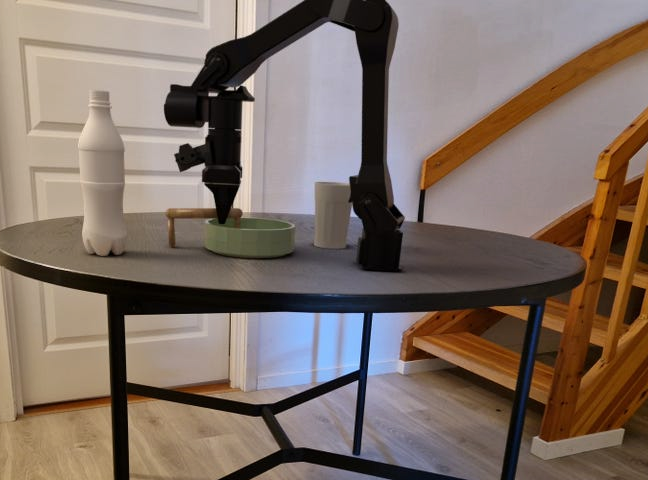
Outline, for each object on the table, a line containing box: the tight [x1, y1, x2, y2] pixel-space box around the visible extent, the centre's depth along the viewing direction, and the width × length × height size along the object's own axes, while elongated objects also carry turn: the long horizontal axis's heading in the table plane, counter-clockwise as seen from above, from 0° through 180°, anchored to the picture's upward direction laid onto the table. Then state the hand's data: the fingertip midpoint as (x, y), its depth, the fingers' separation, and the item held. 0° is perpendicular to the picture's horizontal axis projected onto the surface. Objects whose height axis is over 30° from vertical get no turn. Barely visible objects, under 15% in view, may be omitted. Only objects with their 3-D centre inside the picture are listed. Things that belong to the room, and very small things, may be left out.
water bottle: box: [77, 89, 128, 257], centre depth 99 cm, size 7×7×25 cm
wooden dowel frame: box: [165, 207, 244, 248], centre depth 111 cm, size 18×5×7 cm, turn 91°
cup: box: [313, 181, 353, 250], centre depth 120 cm, size 8×8×12 cm
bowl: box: [203, 216, 296, 259], centre depth 112 cm, size 16×16×5 cm
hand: (222, 221), depth 111 cm, fingers open, 5 cm apart
